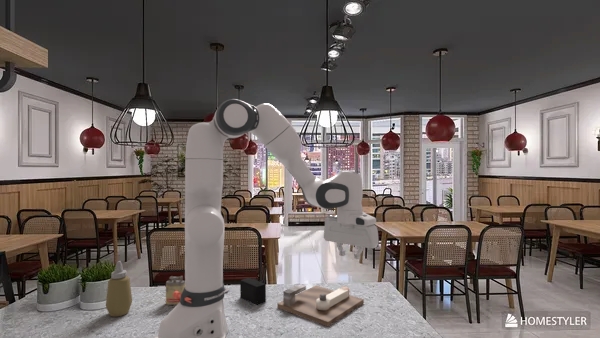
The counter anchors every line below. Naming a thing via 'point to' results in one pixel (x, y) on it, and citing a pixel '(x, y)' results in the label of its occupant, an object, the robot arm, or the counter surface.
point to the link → (332, 298)
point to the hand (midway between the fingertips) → (349, 257)
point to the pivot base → (306, 304)
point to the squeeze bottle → (118, 292)
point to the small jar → (174, 289)
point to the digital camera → (253, 291)
